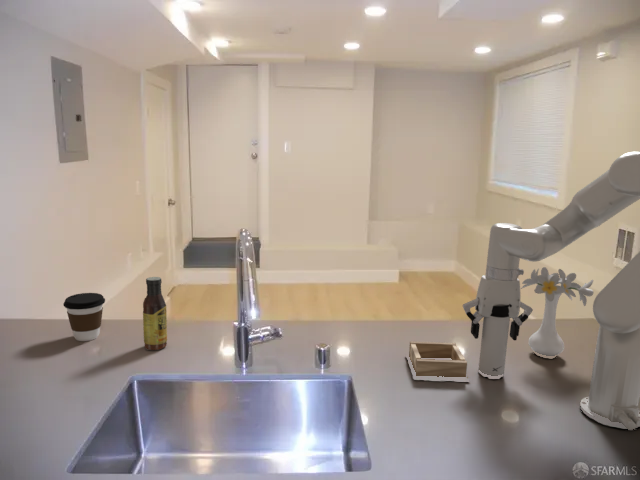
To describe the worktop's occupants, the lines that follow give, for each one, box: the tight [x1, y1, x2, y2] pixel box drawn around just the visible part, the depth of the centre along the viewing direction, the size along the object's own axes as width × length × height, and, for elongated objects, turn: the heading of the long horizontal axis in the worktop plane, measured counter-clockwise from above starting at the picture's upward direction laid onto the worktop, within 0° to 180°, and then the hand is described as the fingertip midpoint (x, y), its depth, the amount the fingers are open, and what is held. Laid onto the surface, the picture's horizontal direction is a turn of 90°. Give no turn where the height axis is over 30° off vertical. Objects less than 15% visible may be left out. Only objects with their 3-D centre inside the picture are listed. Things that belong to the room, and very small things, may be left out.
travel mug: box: [478, 304, 512, 376], centre depth 129 cm, size 6×7×20 cm
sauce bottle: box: [142, 276, 168, 351], centre depth 140 cm, size 6×6×20 cm
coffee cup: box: [63, 292, 106, 342], centre depth 146 cm, size 11×11×12 cm
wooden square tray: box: [408, 340, 468, 377], centre depth 133 cm, size 14×14×5 cm
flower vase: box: [520, 266, 594, 356], centre depth 142 cm, size 13×18×25 cm
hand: (493, 337), depth 129 cm, fingers open, 9 cm apart
